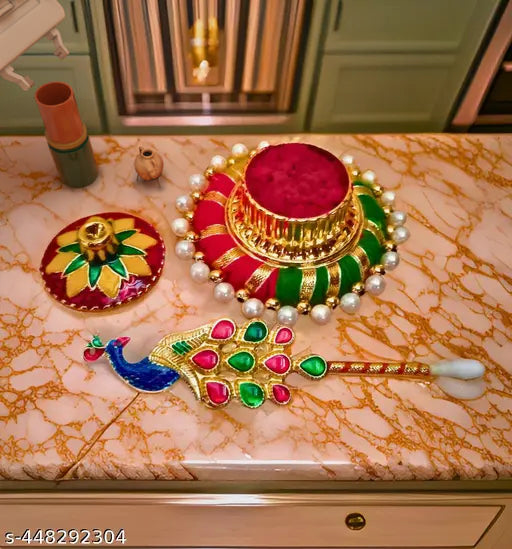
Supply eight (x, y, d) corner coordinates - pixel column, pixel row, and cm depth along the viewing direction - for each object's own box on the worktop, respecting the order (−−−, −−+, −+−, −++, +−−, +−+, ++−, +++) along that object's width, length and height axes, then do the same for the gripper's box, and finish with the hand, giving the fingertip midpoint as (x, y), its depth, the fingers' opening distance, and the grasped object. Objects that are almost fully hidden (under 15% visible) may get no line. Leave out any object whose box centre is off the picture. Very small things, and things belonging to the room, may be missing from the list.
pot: (142, 168, 123) (132, 188, 119) (139, 138, 117) (128, 157, 113) (169, 173, 123) (159, 193, 119) (167, 143, 117) (157, 163, 113)
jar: (67, 193, 118) (52, 151, 108) (54, 168, 122) (38, 125, 112) (104, 179, 121) (92, 137, 110) (90, 154, 124) (77, 111, 114)
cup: (55, 148, 108) (41, 111, 101) (43, 126, 112) (29, 88, 104) (88, 136, 110) (78, 99, 103) (76, 114, 114) (65, 77, 106)
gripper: (-59, 26, 86) (14, 101, 92) (31, -38, 96) (91, 33, 102) (-69, 43, 90) (1, 113, 96) (18, -20, 101) (76, 47, 107)
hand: (48, 72), depth 99 cm, fingers open, 8 cm apart
